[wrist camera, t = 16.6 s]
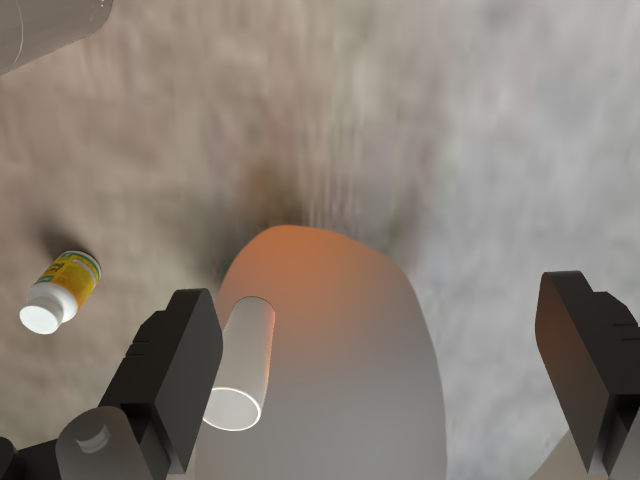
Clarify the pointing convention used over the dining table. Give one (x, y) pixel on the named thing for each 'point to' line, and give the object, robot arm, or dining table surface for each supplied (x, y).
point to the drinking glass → (242, 366)
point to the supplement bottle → (60, 292)
